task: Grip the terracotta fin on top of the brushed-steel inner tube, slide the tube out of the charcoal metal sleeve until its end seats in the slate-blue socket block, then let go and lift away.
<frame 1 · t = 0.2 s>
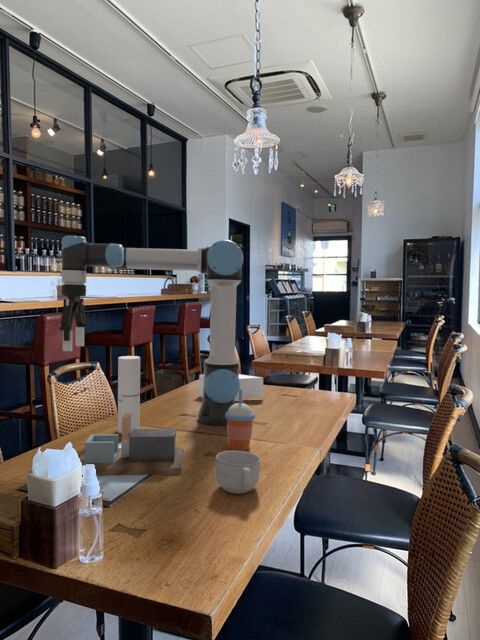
hand: (73, 348, 151), 28 cm above the table, tool pointing down, fingers open, 13 cm apart
inner tube: (147, 434, 126), point 8 cm above the table, slide at 0.0 cm
teacup: (238, 492, 110), on the table
cup with straw: (239, 448, 141), on the table
cylindrical container: (128, 431, 155), on the table
walnut base board: (130, 463, 126), on the table
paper: (230, 399, 207), on the table
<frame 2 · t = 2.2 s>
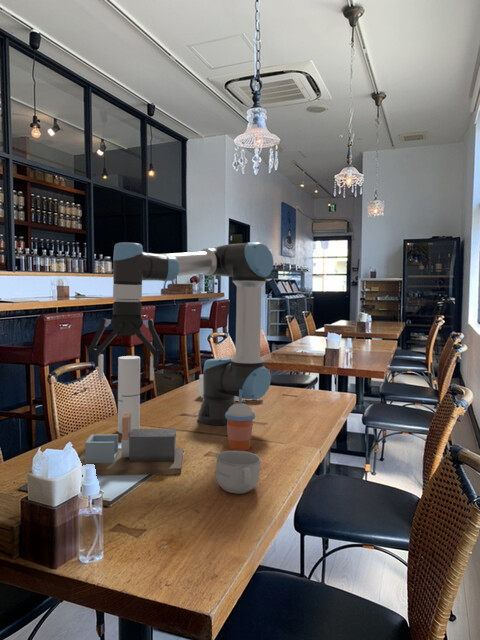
hand: (126, 379, 124), 23 cm above the table, tool pointing down, fingers open, 13 cm apart
nothing on the table moved.
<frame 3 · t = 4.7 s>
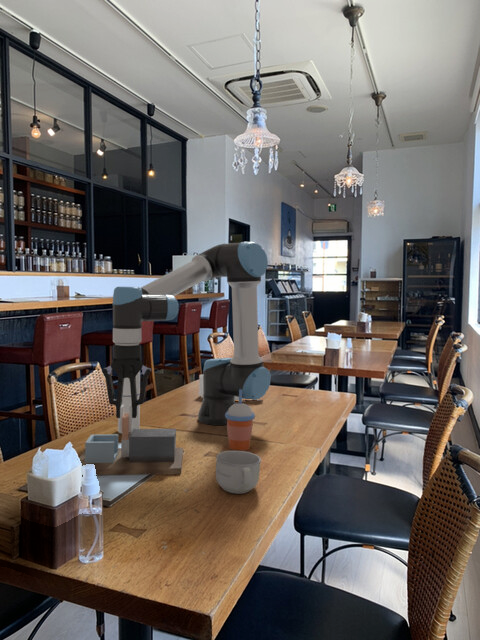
hand: (126, 429, 125), 9 cm above the table, tool pointing down, fingers closed on inner tube, 2 cm apart
inner tube: (146, 434, 126), point 8 cm above the table, slide at 0.0 cm, touching gripper
everything else where it was.
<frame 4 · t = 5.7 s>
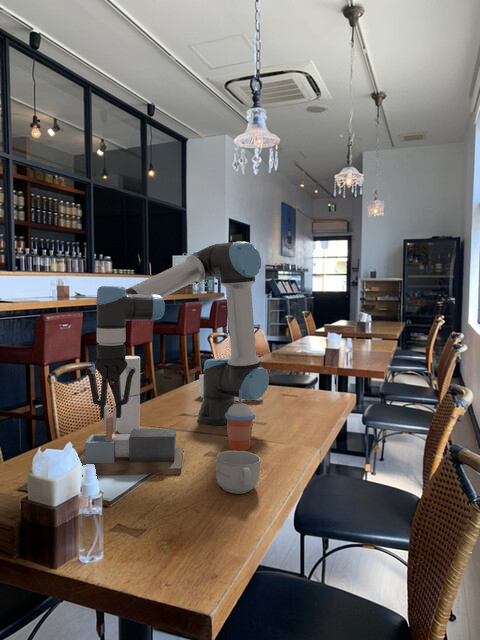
hand: (110, 429, 125), 9 cm above the table, tool pointing down, fingers closed on inner tube, 2 cm apart
inner tube: (131, 434, 126), point 8 cm above the table, slide at 4.2 cm, touching gripper
everything else where it was.
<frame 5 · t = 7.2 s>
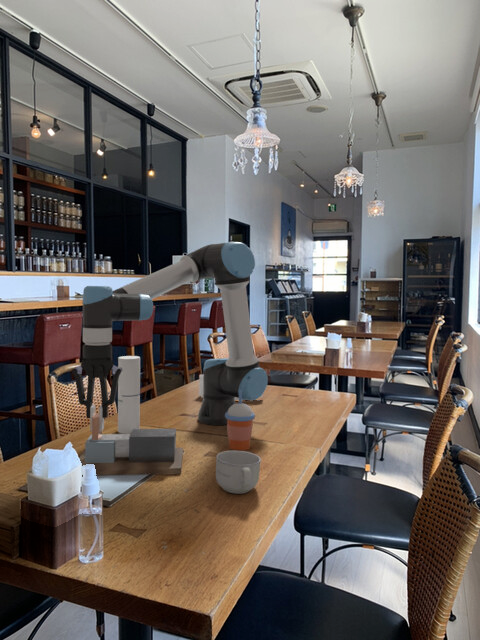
hand: (97, 429, 125), 9 cm above the table, tool pointing down, fingers closed on inner tube, 2 cm apart
inner tube: (117, 434, 125), point 8 cm above the table, slide at 7.9 cm, touching gripper
everything else where it was.
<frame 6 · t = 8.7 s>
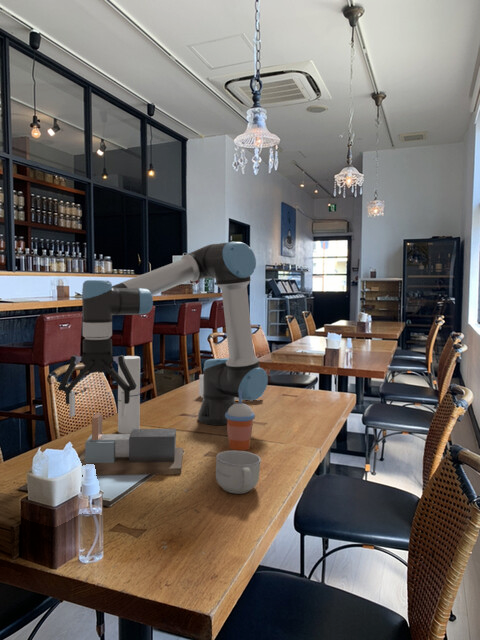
hand: (98, 415, 125), 13 cm above the table, tool pointing down, fingers open, 13 cm apart
inner tube: (117, 434, 125), point 8 cm above the table, slide at 7.9 cm
everything else where it was.
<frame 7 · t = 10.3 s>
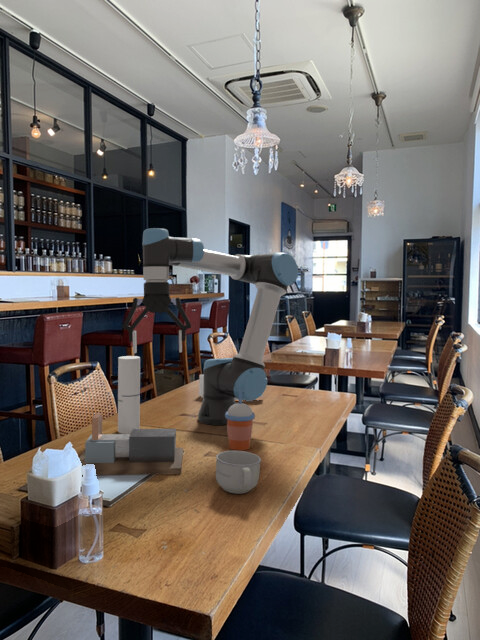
hand: (157, 352, 138), 29 cm above the table, tool pointing down, fingers open, 13 cm apart
nothing on the table moved.
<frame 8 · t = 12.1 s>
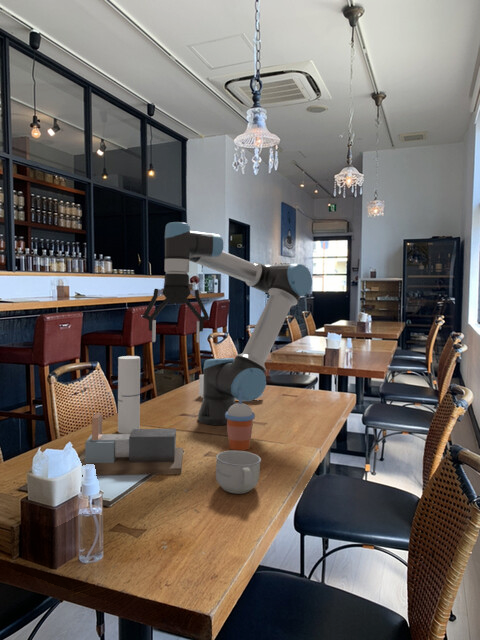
hand: (175, 341, 143), 32 cm above the table, tool pointing down, fingers open, 13 cm apart
nothing on the table moved.
at the end: inner tube slide at 7.9 cm; the gripper is holding nothing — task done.
